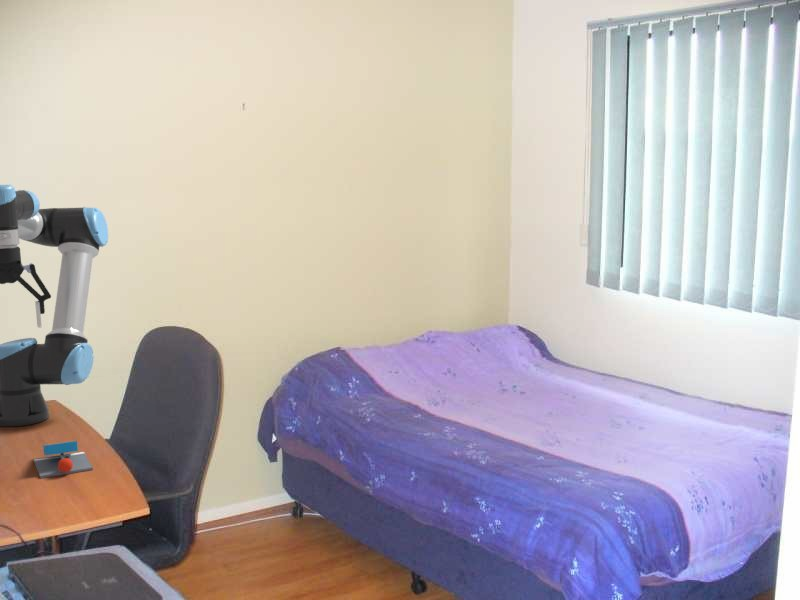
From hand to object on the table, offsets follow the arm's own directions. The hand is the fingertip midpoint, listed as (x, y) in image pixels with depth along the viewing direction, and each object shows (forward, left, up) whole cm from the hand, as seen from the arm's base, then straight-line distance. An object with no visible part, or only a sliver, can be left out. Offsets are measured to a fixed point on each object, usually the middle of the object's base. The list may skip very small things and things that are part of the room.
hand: (11, 329), depth 251 cm
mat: (+16, +14, -32) cm, 38 cm away
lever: (+16, +14, -31) cm, 37 cm away
